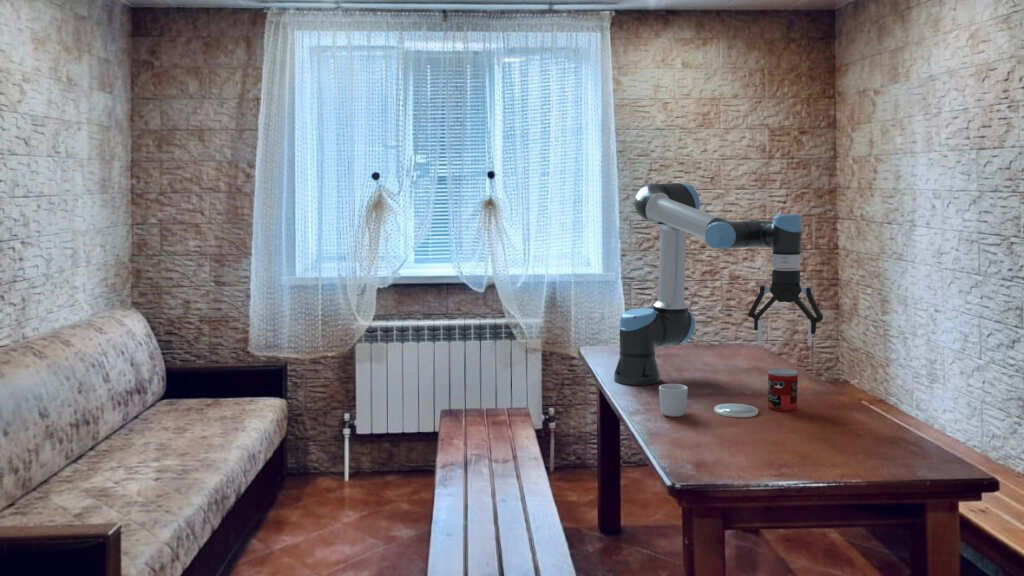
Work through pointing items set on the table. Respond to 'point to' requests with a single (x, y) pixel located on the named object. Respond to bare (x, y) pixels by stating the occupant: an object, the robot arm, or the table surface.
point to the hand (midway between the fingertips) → (784, 343)
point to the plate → (736, 410)
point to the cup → (673, 399)
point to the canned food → (782, 389)
